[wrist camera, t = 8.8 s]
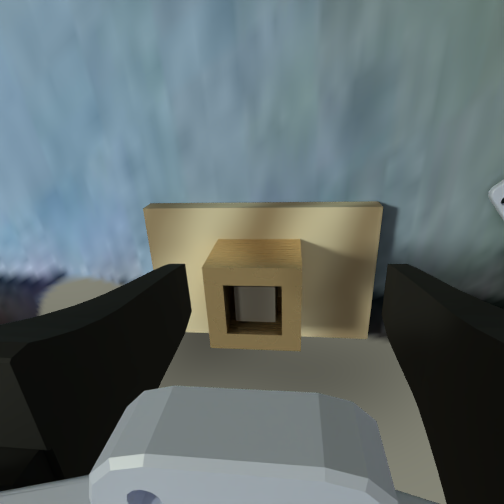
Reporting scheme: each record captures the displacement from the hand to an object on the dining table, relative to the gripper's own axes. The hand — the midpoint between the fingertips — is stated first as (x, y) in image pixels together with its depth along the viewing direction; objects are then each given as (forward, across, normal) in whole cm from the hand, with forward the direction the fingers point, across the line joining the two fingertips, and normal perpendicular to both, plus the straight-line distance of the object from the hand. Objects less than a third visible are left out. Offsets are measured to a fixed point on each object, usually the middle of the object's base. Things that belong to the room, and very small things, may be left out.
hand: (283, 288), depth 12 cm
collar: (+8, +2, +4) cm, 9 cm away
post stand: (+9, +2, +4) cm, 10 cm away
